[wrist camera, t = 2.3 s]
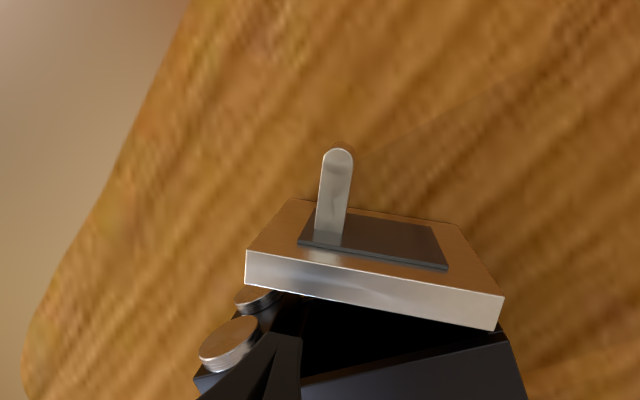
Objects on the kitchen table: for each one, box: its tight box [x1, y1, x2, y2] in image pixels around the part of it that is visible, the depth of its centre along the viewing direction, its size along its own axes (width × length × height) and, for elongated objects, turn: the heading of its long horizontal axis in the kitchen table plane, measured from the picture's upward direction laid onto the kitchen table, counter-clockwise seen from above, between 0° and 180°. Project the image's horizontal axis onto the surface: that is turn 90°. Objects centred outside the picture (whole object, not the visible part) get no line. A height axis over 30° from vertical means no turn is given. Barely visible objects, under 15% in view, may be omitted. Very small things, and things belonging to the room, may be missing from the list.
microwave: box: [193, 284, 529, 400], centre depth 19 cm, size 12×14×8 cm
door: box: [244, 142, 505, 332], centre depth 16 cm, size 6×10×8 cm, turn 83°
